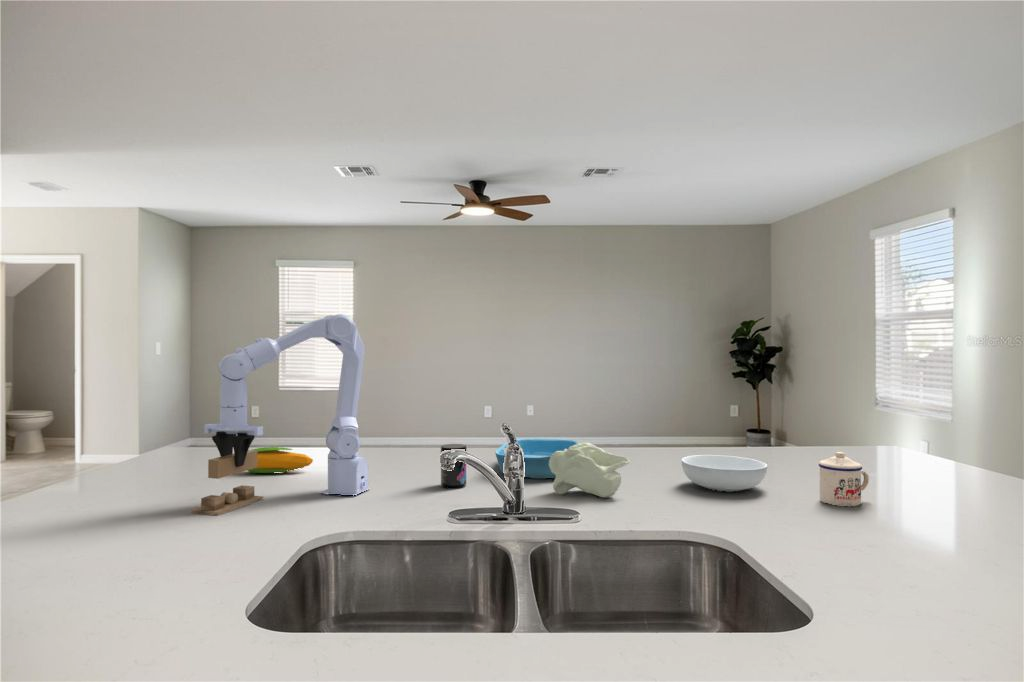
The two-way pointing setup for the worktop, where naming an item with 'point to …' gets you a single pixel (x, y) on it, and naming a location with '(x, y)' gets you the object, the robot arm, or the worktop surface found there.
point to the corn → (279, 460)
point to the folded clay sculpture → (586, 470)
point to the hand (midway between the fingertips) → (233, 465)
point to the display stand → (227, 501)
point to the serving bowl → (724, 472)
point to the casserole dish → (537, 455)
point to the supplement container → (457, 475)
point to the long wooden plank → (230, 465)
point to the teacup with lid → (841, 481)
